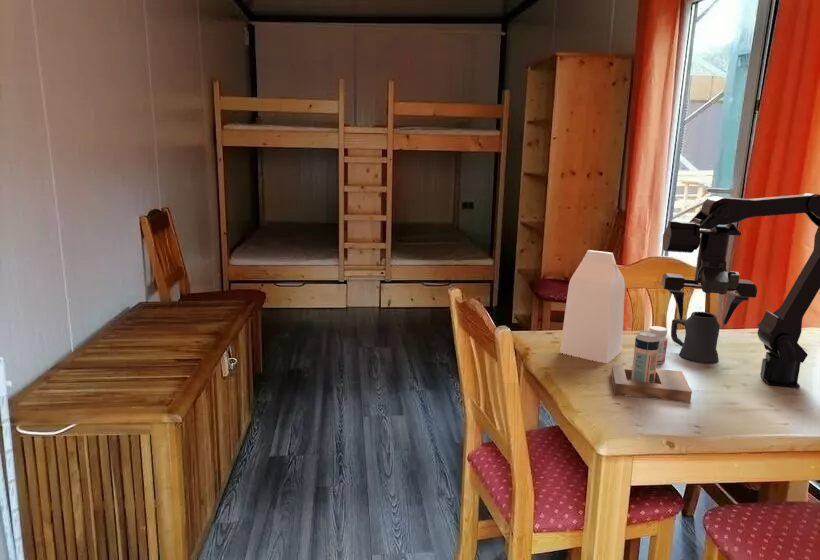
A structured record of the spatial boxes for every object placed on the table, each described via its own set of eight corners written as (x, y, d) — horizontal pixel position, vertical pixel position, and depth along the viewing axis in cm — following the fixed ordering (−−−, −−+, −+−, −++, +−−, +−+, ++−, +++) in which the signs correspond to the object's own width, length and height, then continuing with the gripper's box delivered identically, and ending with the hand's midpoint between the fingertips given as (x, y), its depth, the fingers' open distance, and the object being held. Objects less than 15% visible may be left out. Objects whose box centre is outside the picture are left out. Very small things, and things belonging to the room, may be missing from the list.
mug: (724, 358, 156) (730, 315, 153) (709, 366, 150) (715, 321, 148) (677, 346, 165) (682, 305, 162) (661, 353, 159) (666, 311, 156)
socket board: (680, 381, 140) (682, 371, 139) (690, 403, 128) (691, 391, 128) (610, 374, 143) (611, 364, 143) (614, 394, 132) (615, 383, 131)
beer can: (653, 384, 138) (659, 332, 135) (654, 391, 133) (660, 338, 131) (630, 380, 139) (636, 329, 137) (630, 388, 135) (636, 335, 132)
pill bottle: (666, 365, 150) (670, 331, 148) (645, 363, 151) (649, 330, 149) (662, 358, 155) (666, 326, 153) (642, 356, 156) (646, 324, 154)
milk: (559, 353, 157) (567, 251, 152) (577, 341, 166) (585, 246, 161) (606, 363, 150) (616, 258, 145) (621, 351, 160) (632, 251, 154)
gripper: (672, 256, 132) (663, 327, 135) (770, 264, 127) (757, 337, 131) (665, 248, 142) (656, 314, 146) (755, 255, 138) (744, 322, 141)
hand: (702, 321), depth 141 cm, fingers open, 9 cm apart
